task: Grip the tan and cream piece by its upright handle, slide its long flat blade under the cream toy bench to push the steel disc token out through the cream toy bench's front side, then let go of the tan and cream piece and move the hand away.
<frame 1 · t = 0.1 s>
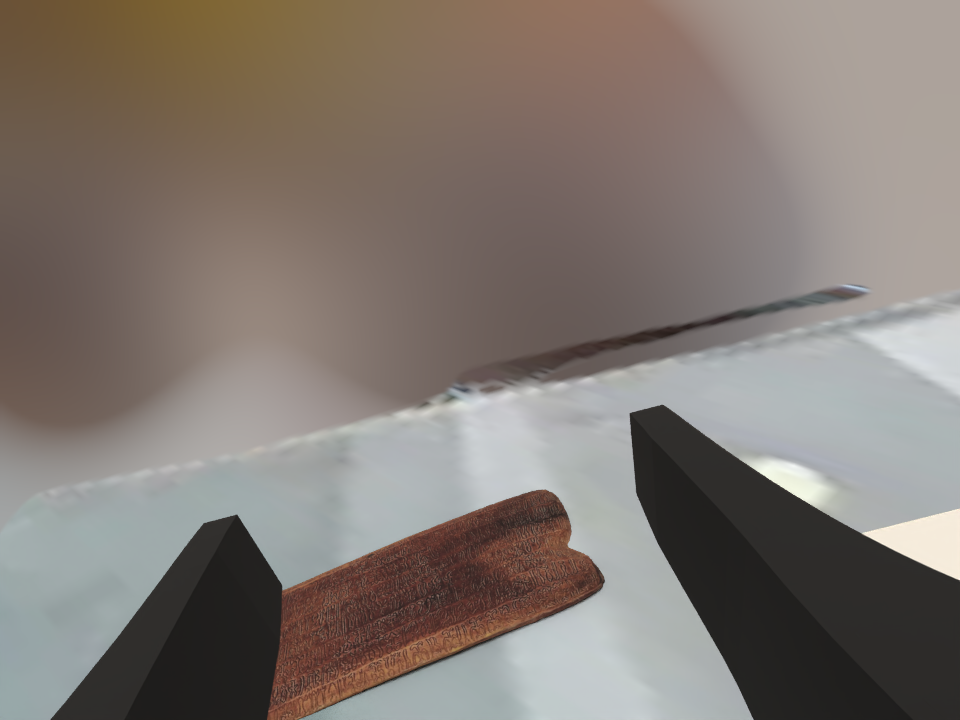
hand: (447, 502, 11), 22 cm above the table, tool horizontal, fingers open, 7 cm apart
wooden tablet: (385, 617, 36), on the table
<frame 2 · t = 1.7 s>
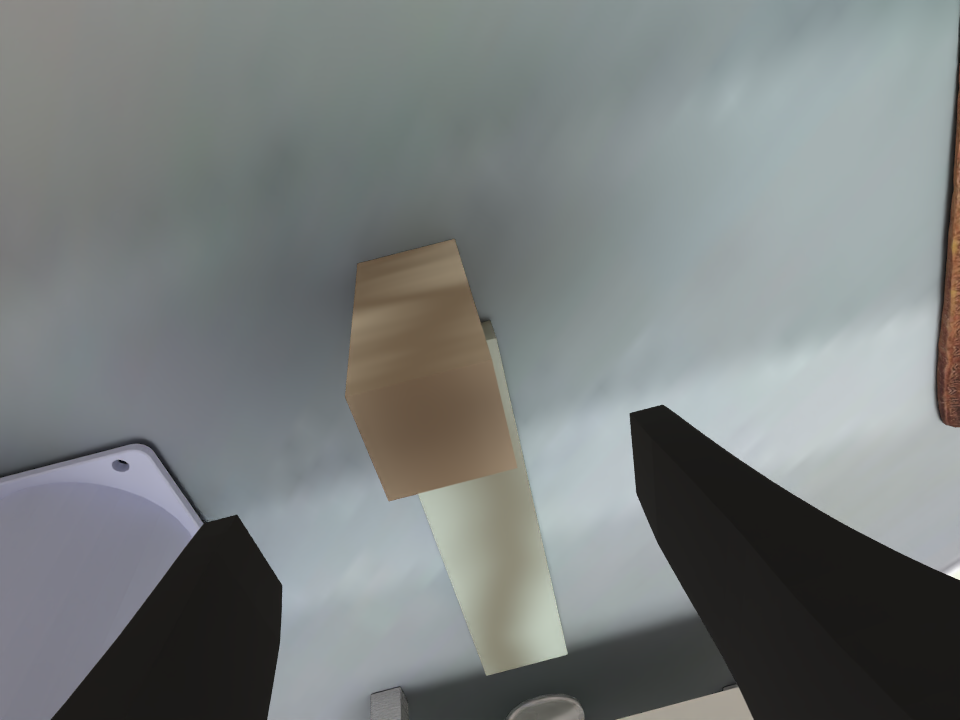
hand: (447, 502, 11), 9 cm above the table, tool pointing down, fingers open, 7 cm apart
cream toy bench: (575, 694, 32), on the table
steel token: (542, 710, 33), on the table
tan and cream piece: (419, 295, 18), on the table
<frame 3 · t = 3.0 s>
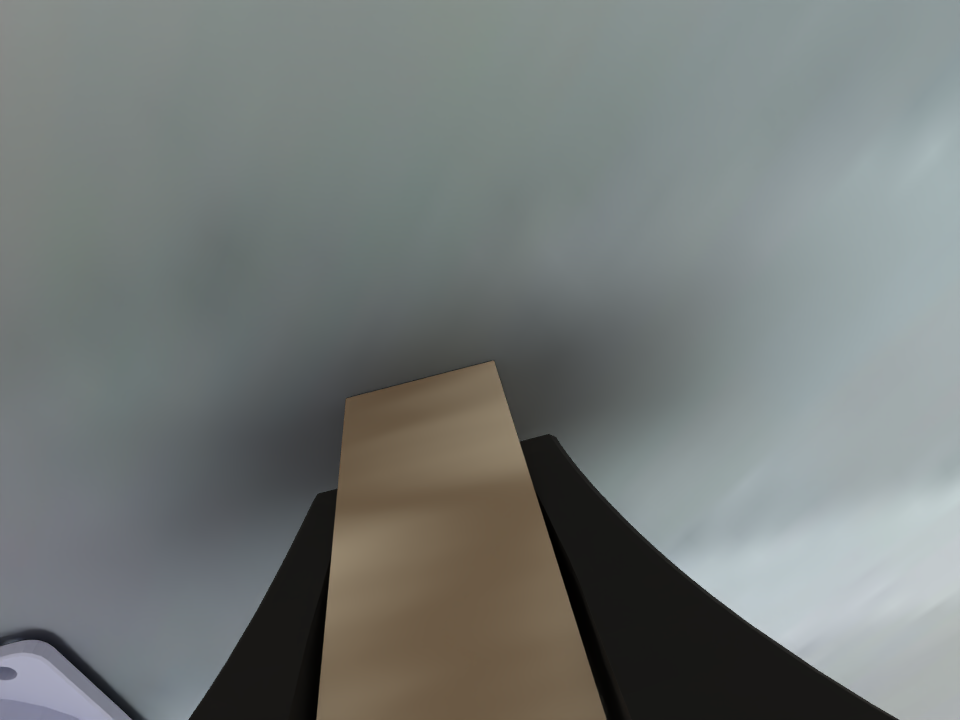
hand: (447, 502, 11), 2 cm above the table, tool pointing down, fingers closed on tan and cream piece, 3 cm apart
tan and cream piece: (438, 436, 12), on the table, touching gripper
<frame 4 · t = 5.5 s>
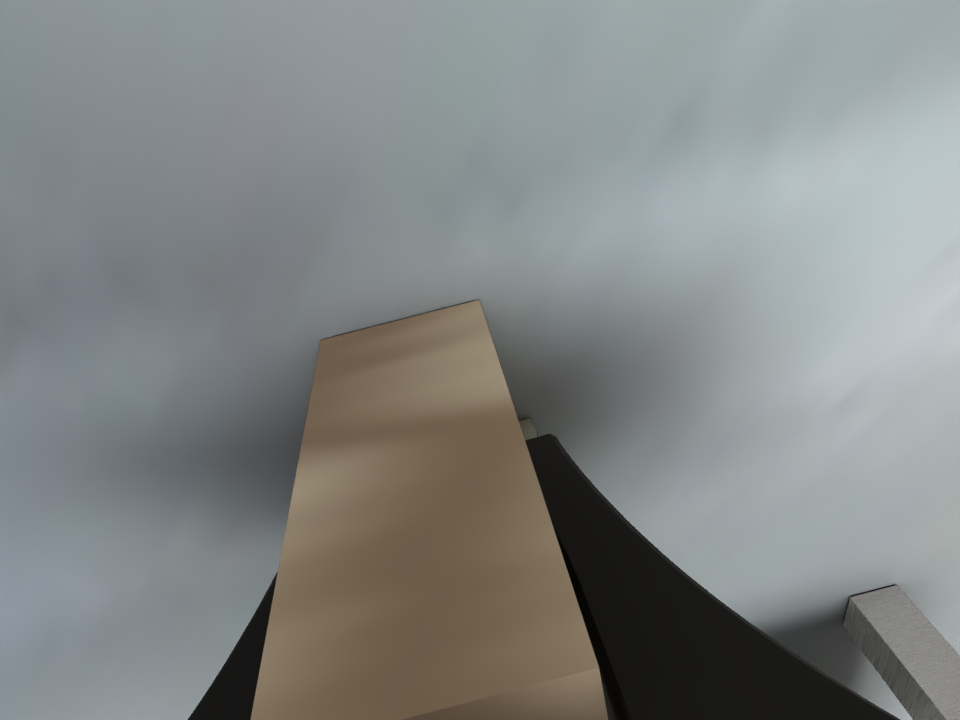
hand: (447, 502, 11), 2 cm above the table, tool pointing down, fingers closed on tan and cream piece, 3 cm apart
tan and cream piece: (421, 384, 11), on the table, touching gripper
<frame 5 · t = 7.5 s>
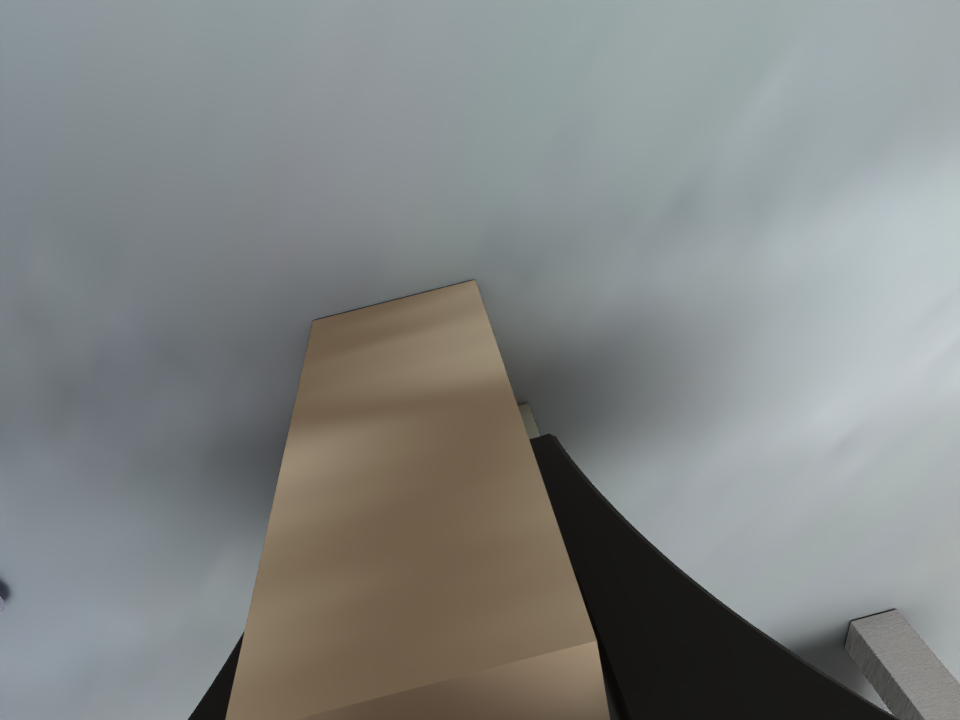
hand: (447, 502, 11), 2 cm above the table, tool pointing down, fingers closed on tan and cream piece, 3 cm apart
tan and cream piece: (416, 368, 11), on the table, touching gripper
when the fingers open (2 cm above the table, at t = 8.6 s): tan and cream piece stays where it is, on the table.
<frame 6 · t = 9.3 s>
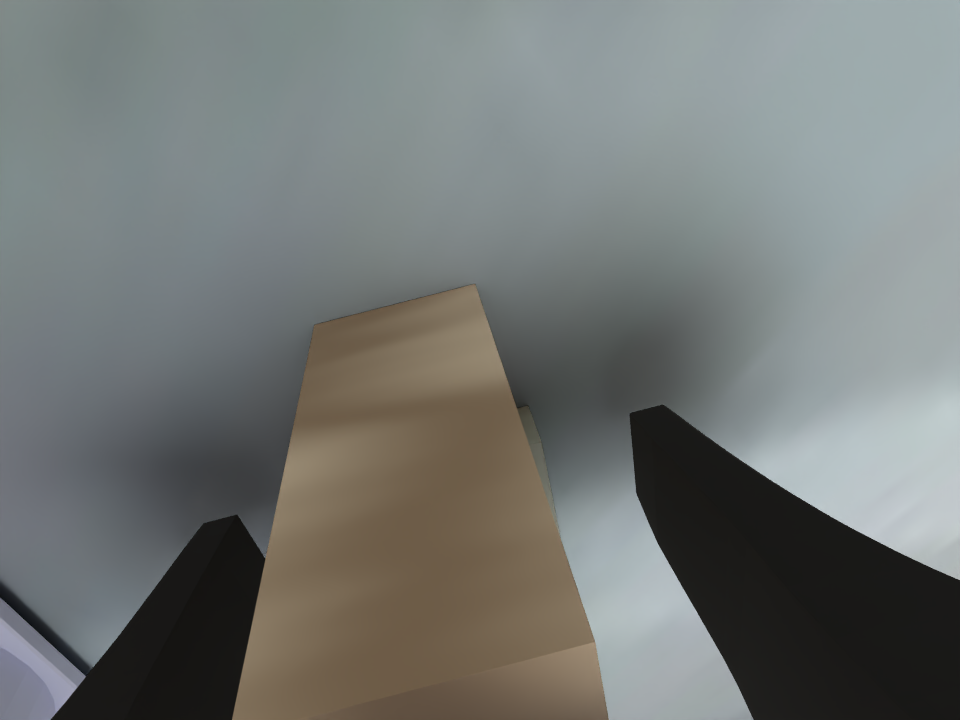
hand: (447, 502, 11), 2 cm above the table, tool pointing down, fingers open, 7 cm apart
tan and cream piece: (416, 371, 11), on the table
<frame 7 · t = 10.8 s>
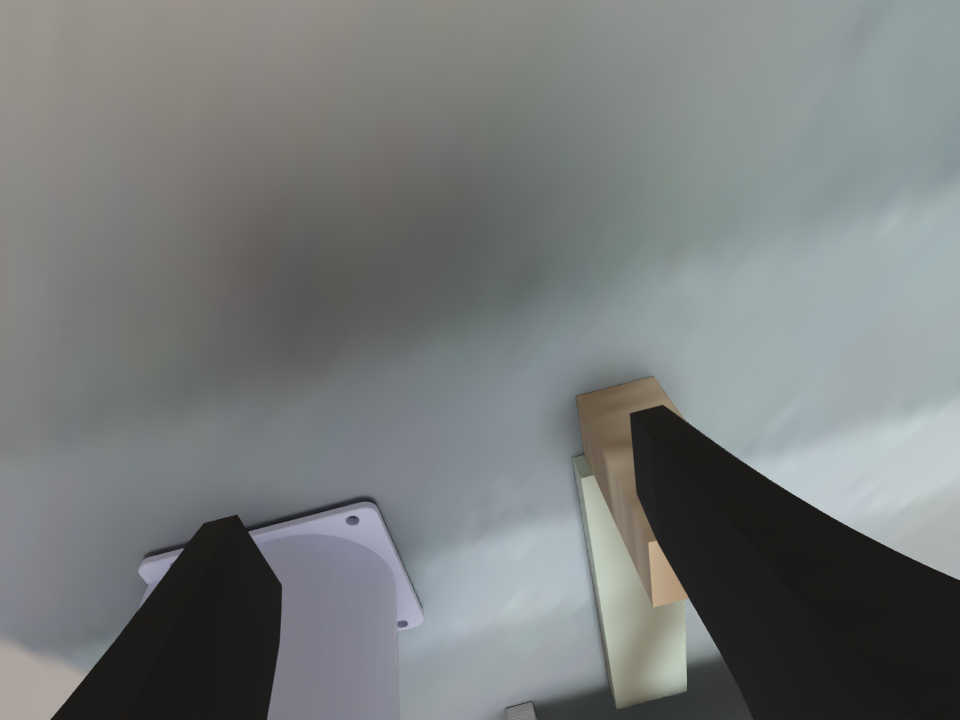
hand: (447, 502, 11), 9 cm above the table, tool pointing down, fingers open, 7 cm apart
cream toy bench: (679, 707, 35), on the table
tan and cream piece: (617, 416, 23), on the table
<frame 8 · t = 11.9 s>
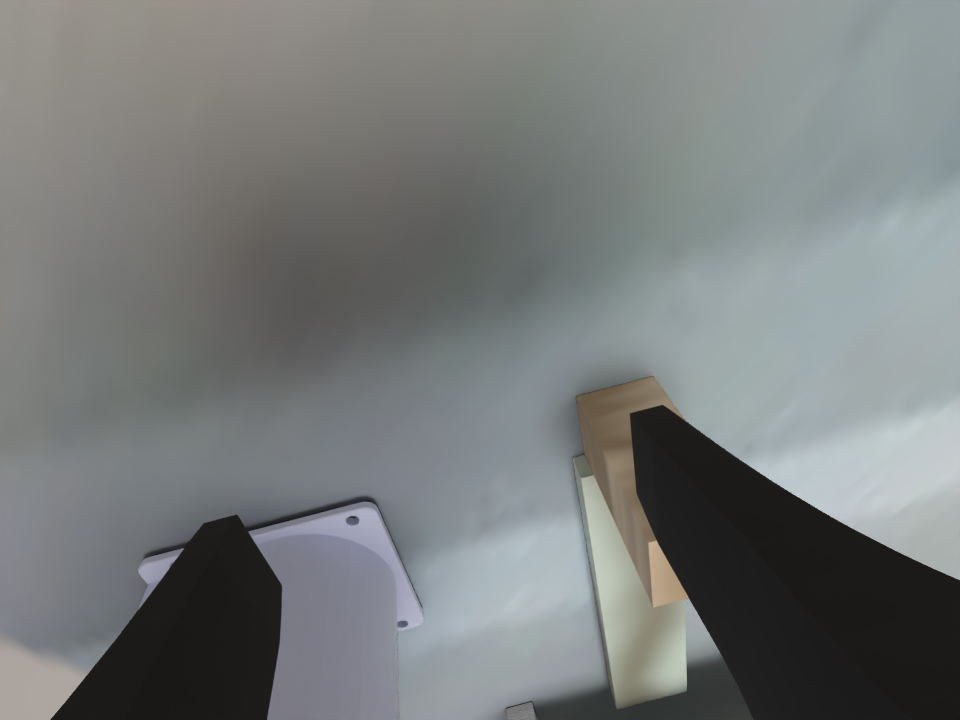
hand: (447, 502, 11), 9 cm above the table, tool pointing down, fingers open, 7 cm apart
cream toy bench: (679, 707, 35), on the table
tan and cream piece: (617, 416, 23), on the table
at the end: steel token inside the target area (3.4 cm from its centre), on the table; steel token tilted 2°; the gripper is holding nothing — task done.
